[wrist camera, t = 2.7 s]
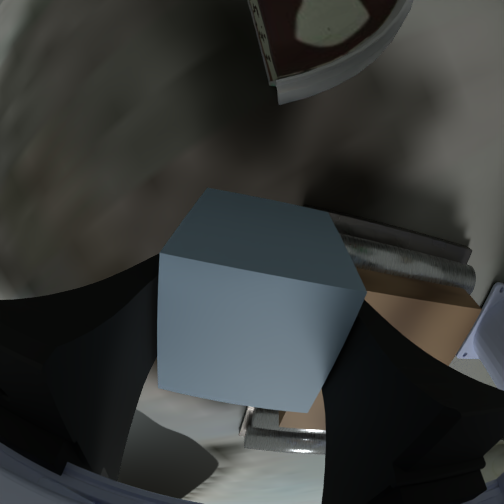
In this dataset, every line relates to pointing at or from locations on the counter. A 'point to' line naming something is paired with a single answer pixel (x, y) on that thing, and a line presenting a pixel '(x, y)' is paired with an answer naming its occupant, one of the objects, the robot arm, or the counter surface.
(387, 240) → the roller track
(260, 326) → the block
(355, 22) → the food container
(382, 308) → the slab
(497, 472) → the kettle
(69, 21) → the counter surface
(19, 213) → the counter surface
